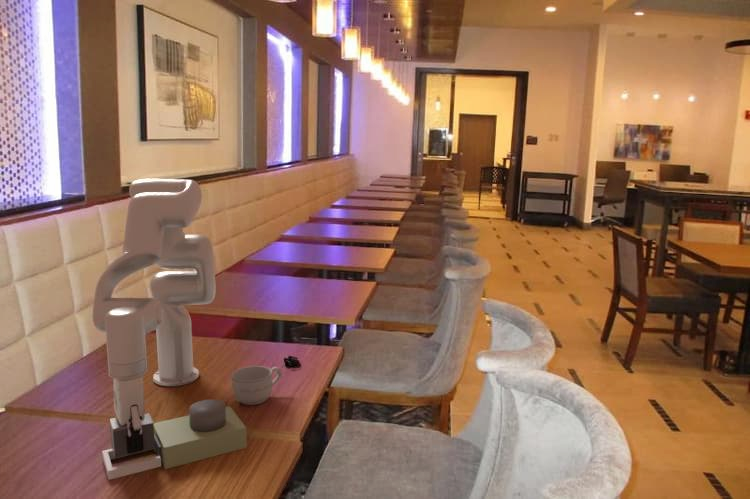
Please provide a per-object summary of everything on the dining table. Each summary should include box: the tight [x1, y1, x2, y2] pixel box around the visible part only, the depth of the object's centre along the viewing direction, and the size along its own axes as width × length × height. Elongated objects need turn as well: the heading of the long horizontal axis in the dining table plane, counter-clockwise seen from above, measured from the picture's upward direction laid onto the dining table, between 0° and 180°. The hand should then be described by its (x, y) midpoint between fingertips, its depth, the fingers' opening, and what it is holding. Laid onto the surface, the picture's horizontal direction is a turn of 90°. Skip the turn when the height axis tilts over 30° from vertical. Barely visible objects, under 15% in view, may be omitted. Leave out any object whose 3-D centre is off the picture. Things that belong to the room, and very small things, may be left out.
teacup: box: [231, 365, 283, 406], centre depth 162 cm, size 14×11×8 cm
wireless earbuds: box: [283, 355, 301, 368], centre depth 185 cm, size 7×2×5 cm
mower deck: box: [101, 398, 248, 481], centre depth 135 cm, size 12×29×9 cm, turn 121°
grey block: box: [109, 413, 155, 459], centre depth 130 cm, size 5×8×7 cm, turn 121°
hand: (133, 444), depth 131 cm, fingers closed on grey block, 5 cm apart
